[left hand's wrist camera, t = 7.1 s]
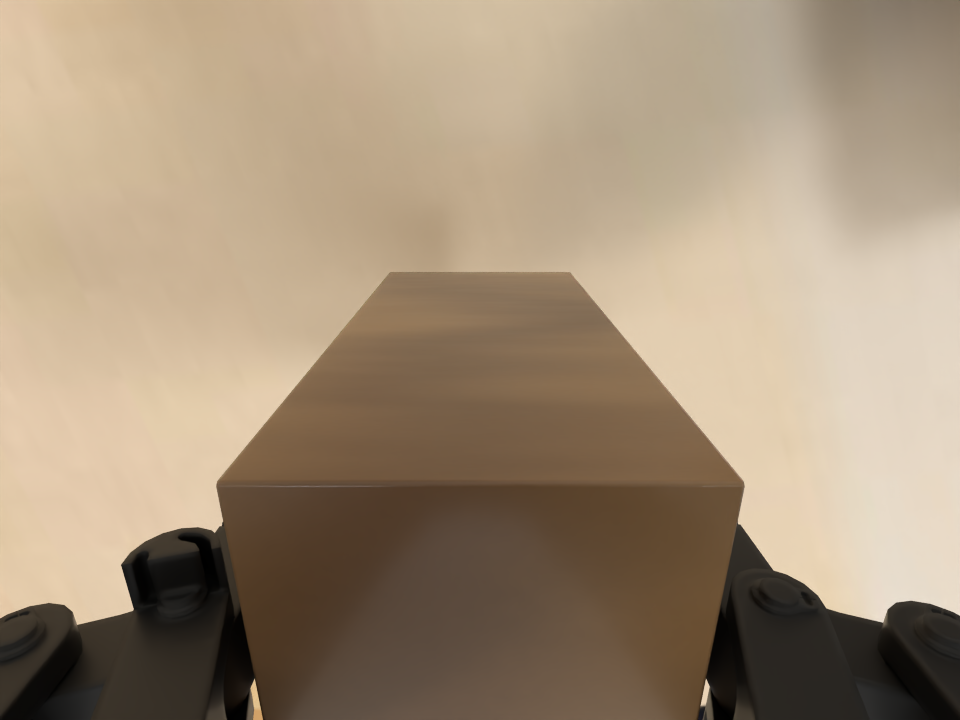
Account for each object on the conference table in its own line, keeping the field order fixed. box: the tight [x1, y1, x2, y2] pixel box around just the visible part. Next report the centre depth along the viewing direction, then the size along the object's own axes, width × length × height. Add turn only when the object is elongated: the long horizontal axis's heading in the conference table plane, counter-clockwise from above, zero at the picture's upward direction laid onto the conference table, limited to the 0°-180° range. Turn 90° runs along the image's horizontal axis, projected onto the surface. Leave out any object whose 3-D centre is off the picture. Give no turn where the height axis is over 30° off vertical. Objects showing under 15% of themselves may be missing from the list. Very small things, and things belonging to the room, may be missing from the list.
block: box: [216, 272, 744, 720], centre depth 13 cm, size 6×8×12 cm
